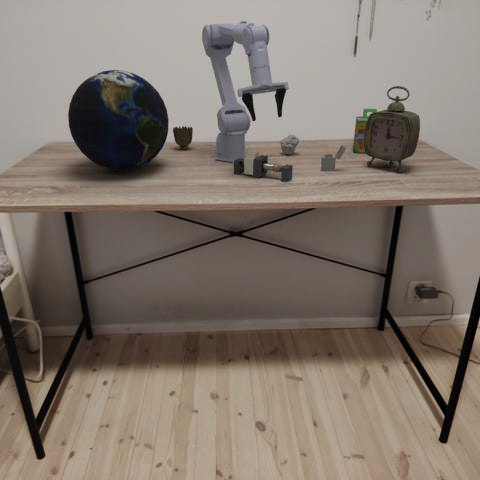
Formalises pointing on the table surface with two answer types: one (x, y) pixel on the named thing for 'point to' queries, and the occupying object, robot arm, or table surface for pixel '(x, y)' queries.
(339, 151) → the lighter
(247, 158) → the sleeve
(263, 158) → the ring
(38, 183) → the table surface
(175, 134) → the cup
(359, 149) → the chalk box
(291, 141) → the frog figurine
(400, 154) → the tabletop clock
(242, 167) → the linear slide rail
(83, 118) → the globe
